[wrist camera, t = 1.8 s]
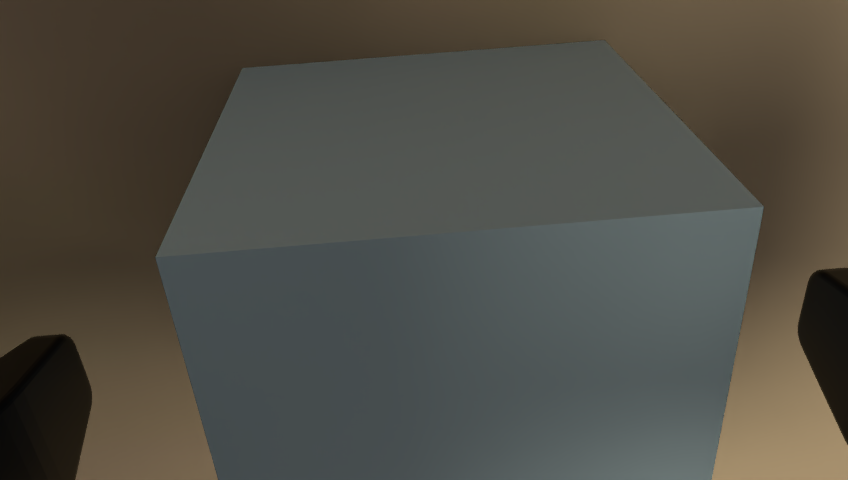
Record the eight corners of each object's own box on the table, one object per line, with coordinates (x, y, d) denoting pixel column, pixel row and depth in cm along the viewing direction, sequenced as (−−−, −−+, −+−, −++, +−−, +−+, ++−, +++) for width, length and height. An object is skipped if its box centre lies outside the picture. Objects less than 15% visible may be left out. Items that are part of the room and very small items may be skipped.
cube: (585, 325, 13) (690, 585, 9) (296, 350, 13) (260, 626, 9) (603, 38, 11) (763, 207, 6) (243, 66, 10) (154, 257, 6)
